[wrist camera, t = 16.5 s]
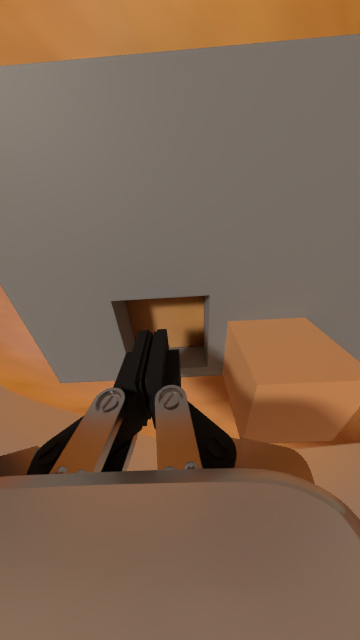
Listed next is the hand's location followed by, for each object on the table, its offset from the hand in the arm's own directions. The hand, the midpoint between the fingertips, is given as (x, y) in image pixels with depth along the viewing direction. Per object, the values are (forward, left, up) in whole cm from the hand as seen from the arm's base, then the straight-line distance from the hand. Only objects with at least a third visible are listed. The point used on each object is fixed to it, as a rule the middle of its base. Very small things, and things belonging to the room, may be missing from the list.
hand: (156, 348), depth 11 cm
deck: (-7, -4, -4) cm, 9 cm away
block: (-7, +2, -1) cm, 7 cm away
